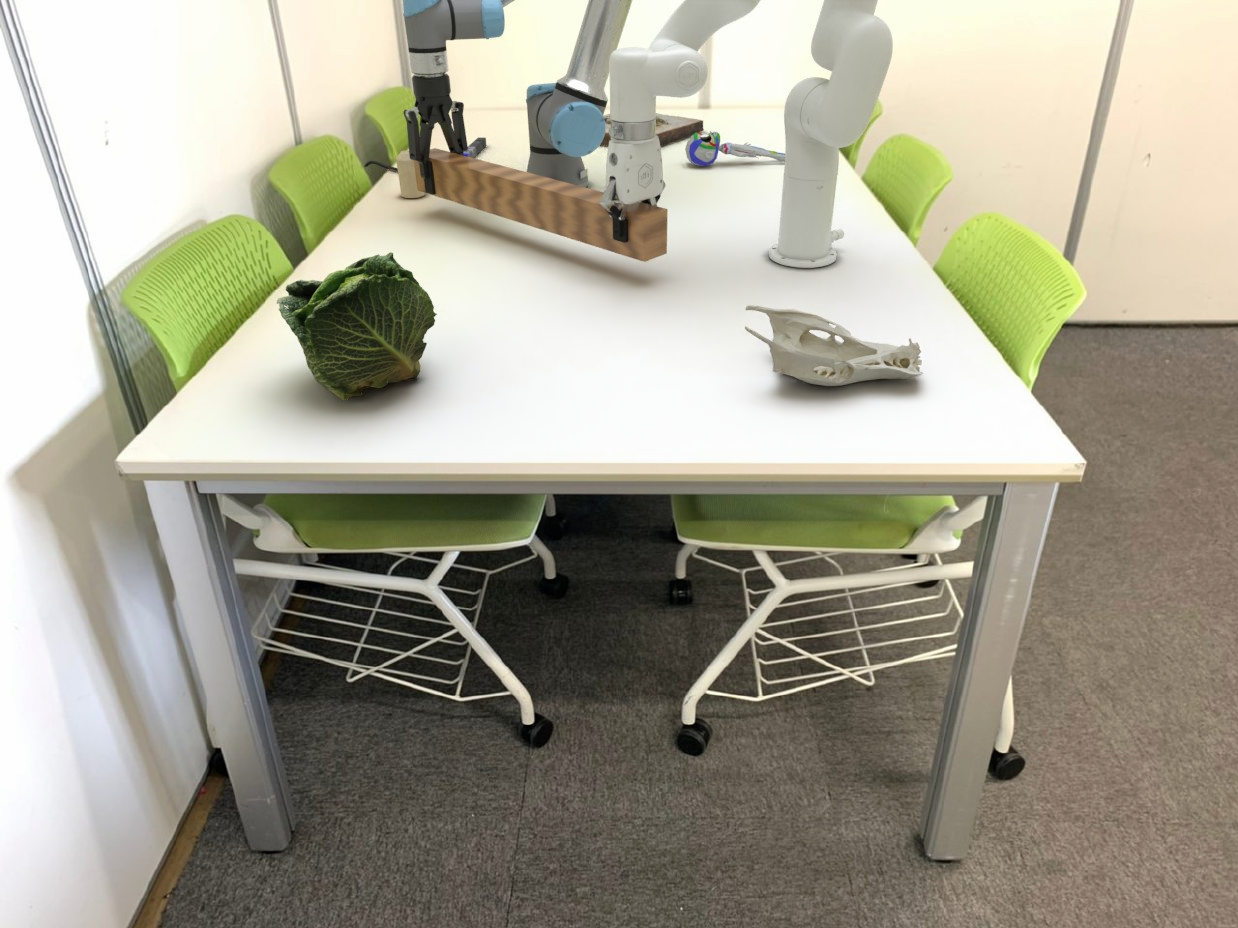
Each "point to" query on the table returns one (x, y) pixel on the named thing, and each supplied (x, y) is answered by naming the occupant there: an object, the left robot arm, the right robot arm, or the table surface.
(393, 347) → the vegetable
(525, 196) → the bar
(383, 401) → the table surface
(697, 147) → the toy
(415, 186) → the candle
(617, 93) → the right robot arm
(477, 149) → the grey and blue rod
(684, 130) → the plaque
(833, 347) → the anatomical model
